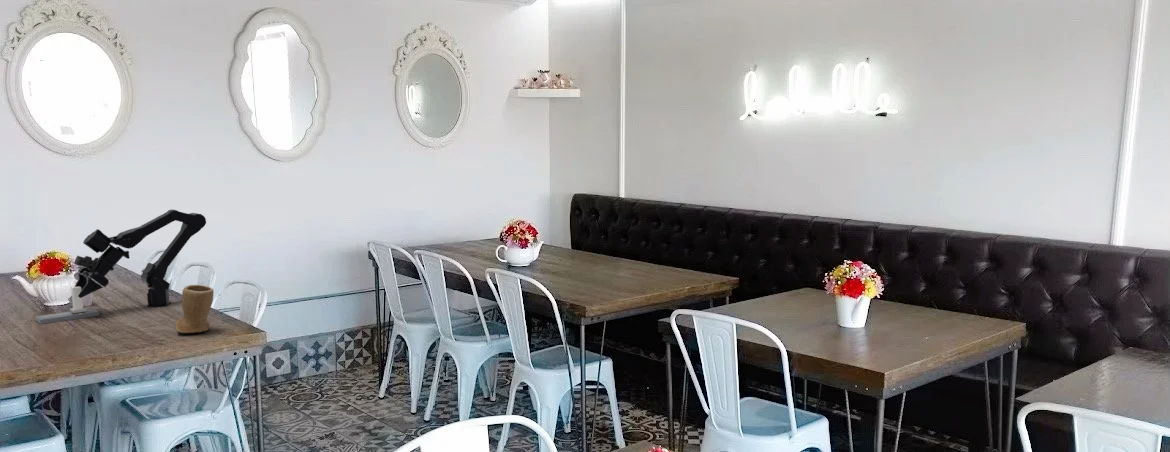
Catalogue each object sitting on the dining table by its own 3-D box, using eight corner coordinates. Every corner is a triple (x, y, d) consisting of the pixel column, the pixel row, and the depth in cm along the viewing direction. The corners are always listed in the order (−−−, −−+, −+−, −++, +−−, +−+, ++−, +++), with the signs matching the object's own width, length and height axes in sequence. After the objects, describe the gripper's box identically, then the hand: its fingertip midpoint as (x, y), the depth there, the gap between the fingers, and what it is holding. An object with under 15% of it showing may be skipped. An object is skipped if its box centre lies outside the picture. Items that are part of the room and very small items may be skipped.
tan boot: (216, 333, 278) (213, 287, 276) (175, 337, 273) (172, 291, 271) (215, 323, 291) (212, 280, 289) (176, 327, 287) (173, 283, 285)
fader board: (93, 312, 312) (92, 307, 312) (99, 315, 306) (98, 311, 306) (35, 320, 300) (35, 315, 299) (40, 324, 294) (40, 319, 294)
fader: (82, 309, 308) (80, 285, 307) (86, 311, 304) (84, 287, 303) (70, 310, 305) (68, 287, 304) (73, 313, 302) (71, 289, 301)
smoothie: (89, 306, 321) (86, 270, 320) (72, 307, 321) (69, 270, 320) (99, 303, 328) (96, 267, 326) (82, 303, 328) (79, 267, 326)
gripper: (81, 244, 312) (49, 278, 306) (95, 249, 299) (62, 285, 293) (107, 263, 319) (76, 296, 313) (122, 268, 305) (90, 304, 299)
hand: (75, 295), depth 304 cm, fingers open, 9 cm apart
